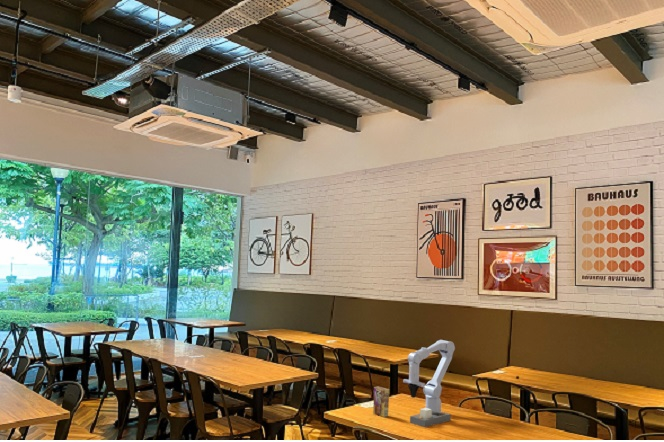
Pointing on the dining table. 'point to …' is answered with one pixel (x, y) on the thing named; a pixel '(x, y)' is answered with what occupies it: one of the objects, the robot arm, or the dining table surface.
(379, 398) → the candy box
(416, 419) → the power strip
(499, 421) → the dining table surface
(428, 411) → the plug
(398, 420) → the dining table surface
